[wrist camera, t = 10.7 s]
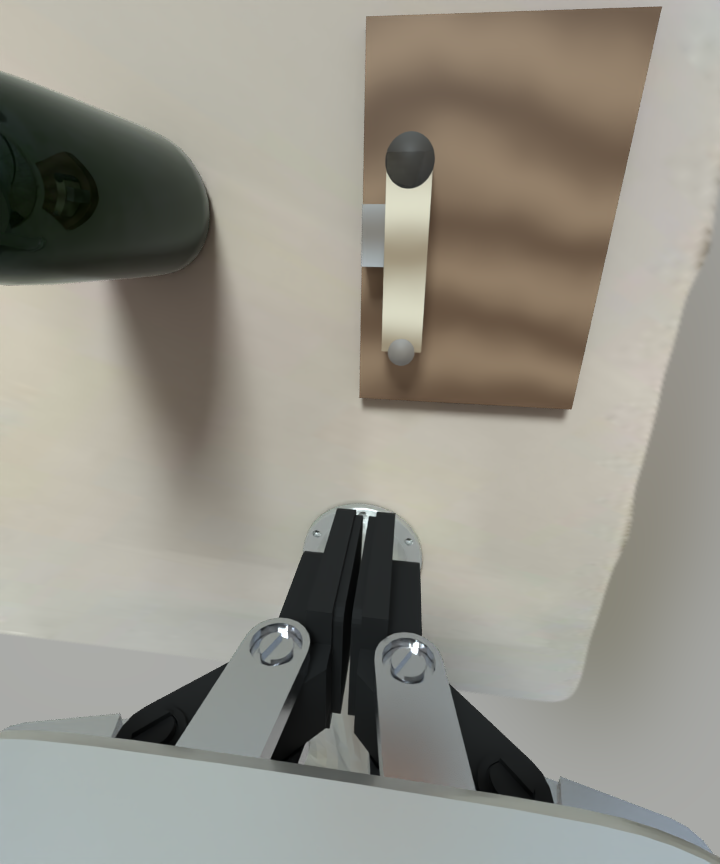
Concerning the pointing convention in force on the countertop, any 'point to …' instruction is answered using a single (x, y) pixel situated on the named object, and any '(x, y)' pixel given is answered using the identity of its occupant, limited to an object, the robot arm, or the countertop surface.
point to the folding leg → (406, 244)
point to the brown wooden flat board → (501, 192)
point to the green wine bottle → (90, 193)
